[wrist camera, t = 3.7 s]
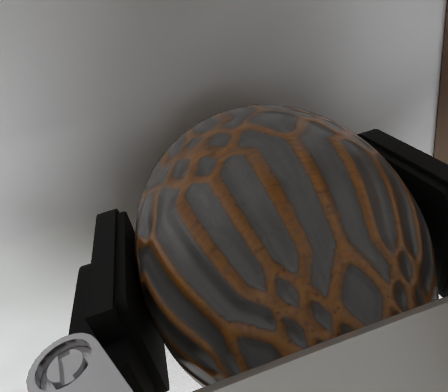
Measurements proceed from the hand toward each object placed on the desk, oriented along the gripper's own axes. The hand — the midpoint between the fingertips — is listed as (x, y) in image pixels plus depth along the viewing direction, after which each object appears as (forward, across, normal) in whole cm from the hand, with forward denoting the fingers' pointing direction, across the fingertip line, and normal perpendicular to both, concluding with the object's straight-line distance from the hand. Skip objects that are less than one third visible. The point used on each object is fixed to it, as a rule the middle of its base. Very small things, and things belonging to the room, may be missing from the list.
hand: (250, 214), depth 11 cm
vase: (+2, 0, 0) cm, 2 cm away
